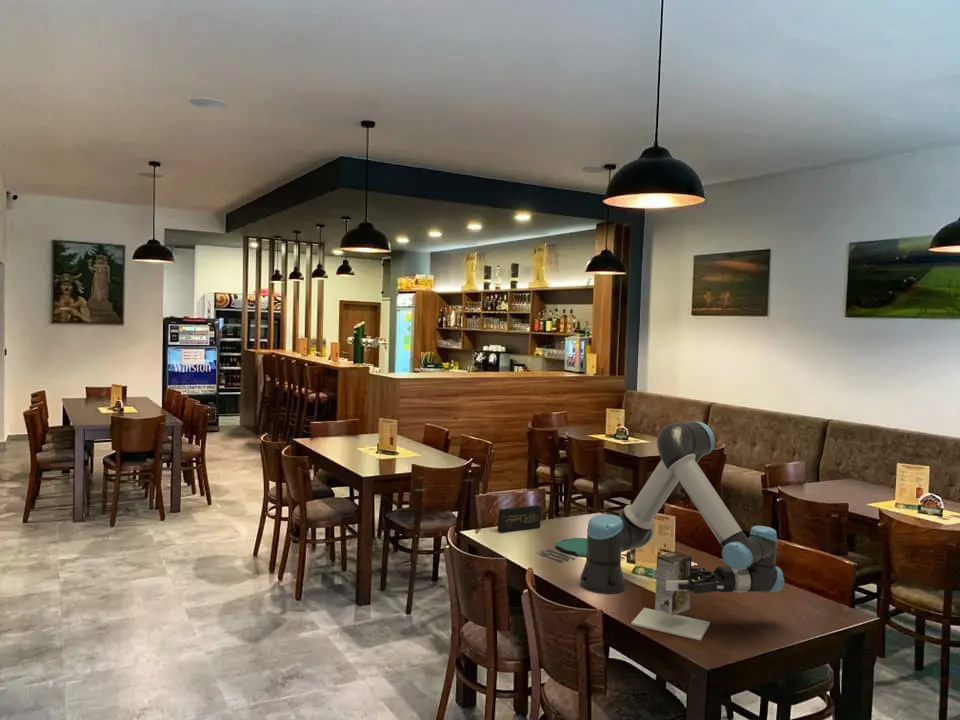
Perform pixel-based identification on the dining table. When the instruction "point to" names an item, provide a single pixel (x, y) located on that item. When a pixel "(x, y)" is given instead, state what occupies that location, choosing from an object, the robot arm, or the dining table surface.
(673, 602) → the coffee box
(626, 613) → the dining table surface
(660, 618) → the mat
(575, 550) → the cutlery set
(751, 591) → the robot arm
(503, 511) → the nameplate
